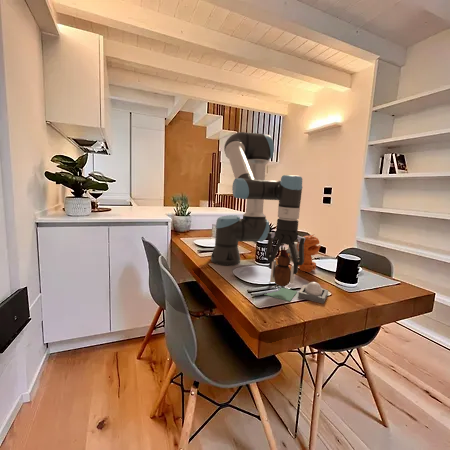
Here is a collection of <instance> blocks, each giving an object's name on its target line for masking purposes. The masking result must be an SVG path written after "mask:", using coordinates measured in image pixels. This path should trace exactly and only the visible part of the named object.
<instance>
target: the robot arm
mask: <svg viewBox="0 0 450 450" xmlns="http://www.w3.org/2000/svg"><path fill="white" fill-rule="evenodd" d="M223 149H224V154H225V157H226V158H227V159H228V160H229V163H230V167H231V170H232V173H233V175H234V179H233V181H232V186H231V187H232V195H233V197H234V198H235V199H242V200H246V209H245V212H244V213H243V214H242V218H241V217H240V216H239V215H224V216H220V217H217V219H216V223H215V243H214V247H213V251H212V253H211V255H210V261H211V262H212V263H214V264H215V265H220V266H235V265H238V264H240V263H241V254H240V250H239V242H251V243H252V242H254V243H257V242H258V241H260V242H264V241H266V239H267V243H266V249H265V255H264V258H265V259H267V260H268V261H269V264H268V269H269V270H270V277H271V278H272V279H273V278H274V271H275V267H276V266H277V259H276V256H277V254H278V252H279V250H280V249H281V245H286V246H288V248H290V251H291V255H292V257H291V258H292V263H293V264H292V265H291V267H290V270H291V276H290V282H289V284H290V283H291V284H293V283H294V280H295V275H297V274H298V271H299V267H298V265H302V264H303V263H304V242H305V240H306V238H305V237H304V236H302V235H301V236H300V235H299V233H298V230H299V220H298V219H299V218H300V209H301V208H300V207H301V202H302V201H301V199H302V192H303V177H302V176H301V175H288V174H286V175H285V174H284V175H282V176H281V177H280V180H274V179H273V180H269V179H268V180H267V179H266V165H267V164H268V163H269V162H270V159H271V160H272V159H273V157H274V152H275V145H274V140H273V138H272V136H271V135H269V134H264V133H256V132H245V131H238V132H235V133H233V134H231V135H230V136H229V137H228V138H227V139H226V141H225V142H224V147H223ZM264 200H266V201H267V200H268V201H278V206H277V208H278V209H277V220H276V230H275V231H274V232H272V231H271V232H270V222H269V220H268V219H267V217H266V214H265V213H264ZM275 237H276V239H277V241H276V243H275V246H274V248H273V251H272V247H273V243H274V238H275ZM296 241H297V242H298V243H299V257H298V256H297V253H296V249H295V244H294V242H296ZM258 243H259V242H258Z"/></svg>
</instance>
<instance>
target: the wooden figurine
mask: <svg viewBox="0 0 450 450" xmlns="http://www.w3.org/2000/svg"><path fill="white" fill-rule="evenodd" d="M283 245H284V244H281V246H280V254H279V255H278V257H277V259H276V263H277V264H276V267H275V271H274V279H275V283H276V284H277V285H279V286H278V287H287V286H289V284H290V276H291V267H290V265H291V257H290V256H289V254H288V253H287V251H286V250H287V249H286V246H283ZM277 285H276V286H277Z"/></svg>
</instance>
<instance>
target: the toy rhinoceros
mask: <svg viewBox="0 0 450 450" xmlns="http://www.w3.org/2000/svg"><path fill="white" fill-rule="evenodd" d="M297 243H298V244H299V242H298V241H294V244H295V249H296V253H297V258H299V251H298V249H299V245H298V249H297ZM285 250H286V251H287V253H288V256H289V258H292V255H291V251H290V248H289V247H288V248H287V249H285Z"/></svg>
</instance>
